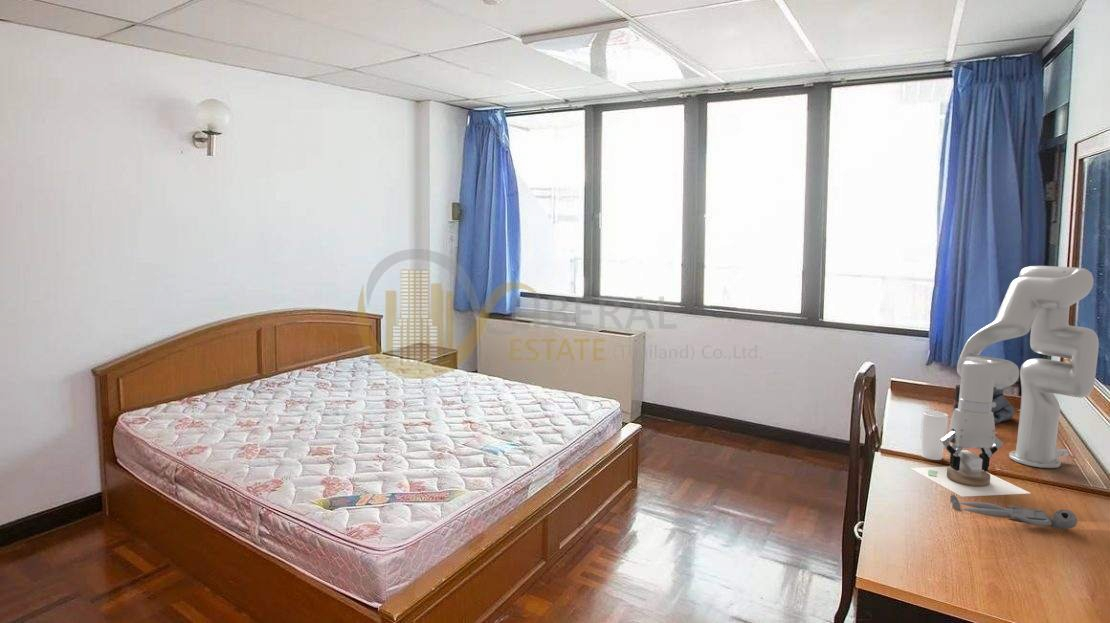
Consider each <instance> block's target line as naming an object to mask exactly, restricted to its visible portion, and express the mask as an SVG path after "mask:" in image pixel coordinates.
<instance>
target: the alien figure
mask: <svg viewBox="0 0 1110 623" xmlns="http://www.w3.org/2000/svg"><path fill="white" fill-rule="evenodd" d="M950 503H952V509H954V510H962V511H967V512H971V513H975V514H982V515H988V516H995V517H1010V518H1008V520H1010V521H1012V522H1016V523H1022V524H1027V525H1034V526H1039V527H1048V526H1050V528H1053V529H1057V530H1058V529H1059V530H1069V529H1073V528H1075V527H1076V526H1077V524H1078V523H1077V522H1078V519H1077V516H1076V514H1075V512H1073V511H1071V510H1069V509H1064V510H1063V509H1058V510H1056V511H1054V513H1053V514H1052V515H1053V516H1052V517H1051V516H1049V515H1048V513H1047V512H1045V511H1043V510H1042V509H1034V508H1024V507H1022V506H1018V505H1007V506H1002V505H998V504H994V503H991V502H990V503H989V502H981V501H974V502H973V501H971V502H968V501H964V502H961V501H960V502H959V499H958V497H957V496H956V495H955V494H951V495H950ZM960 504H961V505H964V506H968V507H967V508H965V507H964V508H963V507H961V505H960Z"/></svg>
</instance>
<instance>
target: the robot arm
mask: <svg viewBox="0 0 1110 623" xmlns="http://www.w3.org/2000/svg"><path fill="white" fill-rule="evenodd" d="M1093 276H1094V275H1093V274H1092V272H1091V271H1090V270H1088V269H1086V268H1083V267H1077V266H1076V267H1072V266H1055V265H1054V266H1053V265H1029V266H1026V267H1023V268H1021V270H1020V271H1019V274H1018V277H1017V278H1015V279H1013V280H1012V281H1011V282H1010V284H1009V286H1008V288H1007V291H1006V292H1005V295H1004V298H1003V299H1002V300H1003V301H1002V302H1001V305H1000V307H999V309H998V311H997V314H996V316H995V319H994V320H993V321H992V322H991V323H989V324H987V325H985V326H984V327H982V328H980V329H978V331H976V332H975V333H973V335H971V336H970V337H969V338H968V339H967V341H966V342H965V344H964V345H963V348H962V351H961V353H960V354H959V358H958V360H957V364H956V372H957V374H958V376H959V377H960V384H959V385H960V394H959V404H958V408H955V410H954V409H953V412H952V416H951V419H950V423H949V429H948V433H947V434H946V436H945V437H943V438H942V439H941V440H940V442H941V443H942V444H943V446H944V448H945V449H946V450H947V452H948V453H949V455H950V457H949V460H950V462H949V466H951V468H953V469H954V470H956V471H959V468H960V457H959V456H958V455H959V454H960V452H961V450H964V449H966V448H967V449H980V451H981V453H979V455H978V457H980V458H981V459H983V460H982V470H983V471H985V472H988V470H989V466H990V459H991V458H992V457H993V454H995V453H996V452H997V451H998V449H999V448H1001V447H1002V446H1003V444H1004V443H1003V441H1001V439H999V437H997V436H996V432H995V431H996V430H995V429H996V425H995V424H996V423H995V422H994V415H993V412H991V410H992V408H993V407H996V403H995V402H993V401H992V399H993V388H994V387H1005V388H1008V387H1010V386H1013V385H1014V384H1016V382H1017V381H1018V379H1019V378H1020V387H1021V394H1020V396H1021V399H1020V410H1019V417H1018V428H1017V438H1016V448H1015V450H1012V451H1010V452H1009V453H1008V455H1009V457H1008V458H1010V459H1011V460H1012V461H1014V462H1016V463H1019V464H1022V465H1026V466H1029V467H1035V468H1042V469H1057V468H1059V467H1061V462H1062V461H1060V460H1059V457H1067V456H1069V455H1070V453H1069V450H1068V449H1066V448H1065V449H1064V448H1063V449H1059V448H1057V439H1058V430H1059V421H1060V415H1061V414H1060V413H1061V406H1060V402H1059V400H1058V399H1057V398H1056V396H1055V394H1057V395H1061V396H1062V395H1063V396H1068V397H1072V398H1079V399H1080V398H1086V397H1088V396H1089V395H1091V393H1092V392H1093V390H1094V387H1095V386H1094V385H1095V382H1096V373H1097V366H1098V365H1097V364H1098V358H1099V348H1100V341H1099V337H1098V335H1097V333H1096V332H1095V330H1093V329H1092V328H1088V327H1084V326H1079V325H1078V326H1076V325H1070V323H1069V317H1070V307H1071V306H1073V305H1074V304H1076V303H1077V302H1079V301H1081V300H1082V299H1084V298H1086V297H1087V296H1088V295H1089V293H1090V292H1091V291H1092V289H1093V287H1094V286H1093V285H1094V283H1095V282H1094V277H1093ZM1029 332H1030V336H1029V337H1030V339H1029V345H1030V349H1031V350H1032V351H1033V352H1034V353H1037V354H1041V355H1044V356H1045V355H1046V356H1051V357H1057V358H1064V359H1070V360H1071V362H1072V363H1071V362H1065V361H1061V360H1053V359H1048V358H1047V359H1046V358H1030V359H1027V360H1025V361H1024V362H1023V363H1022V364H1021V366H1020V369H1019V366H1018V365H1017V364H1016V363H1015V362H1013V361H1011V360H1008V359H1004V358H997V357H992V356H987V355H986V356H985V355H981V353H982V351H984V350H985V349H986V348H988V347H989V346H992V345H993V344H995V343H998V342H1003V341H1006V340H1011V339H1012V340H1013V339H1015V338H1021V337H1023V336H1025V335H1028V334H1029ZM950 443H952V444H950ZM963 448H964V449H963Z"/></svg>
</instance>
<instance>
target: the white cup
mask: <svg viewBox="0 0 1110 623" xmlns="http://www.w3.org/2000/svg"><path fill="white" fill-rule="evenodd" d="M948 423H949V415H948V414H947V413H945V412H941V411H936V410H924V411H923V412H922V415H921V424H920V425H921V426H920V427H921V434H920V436H921V454H920V455H921V457H922V458H924V459H927V460H932V461H940V460H942V459H943V453H944V448H945V447H944V446H943V444H942V443H941V442H940V440H941V439H942V438H943V437H945V436H946V435H947V434H948V433H947V432H948V425H949V424H948Z"/></svg>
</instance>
